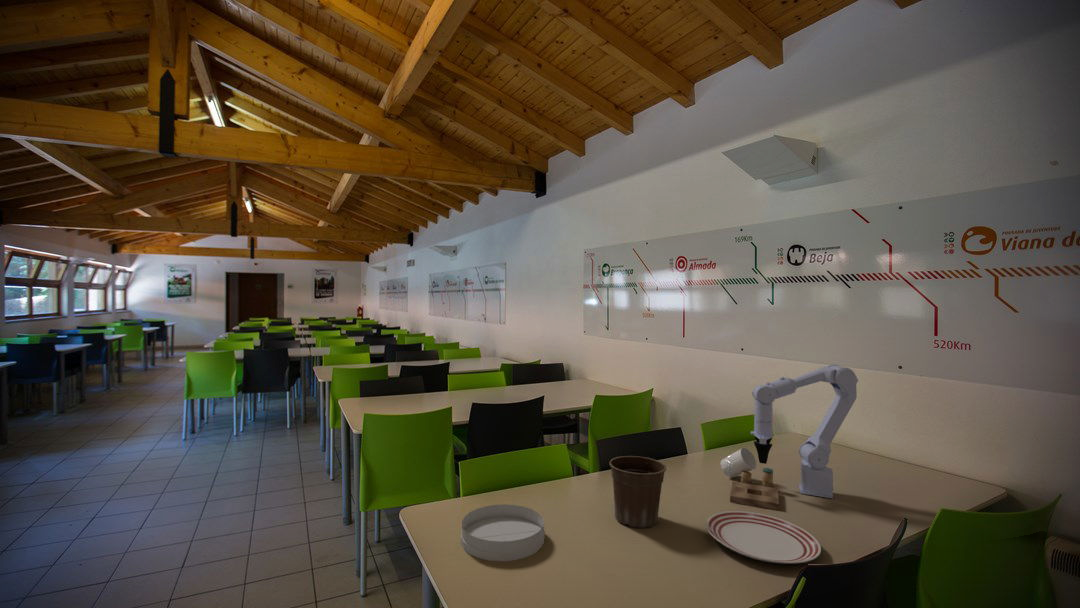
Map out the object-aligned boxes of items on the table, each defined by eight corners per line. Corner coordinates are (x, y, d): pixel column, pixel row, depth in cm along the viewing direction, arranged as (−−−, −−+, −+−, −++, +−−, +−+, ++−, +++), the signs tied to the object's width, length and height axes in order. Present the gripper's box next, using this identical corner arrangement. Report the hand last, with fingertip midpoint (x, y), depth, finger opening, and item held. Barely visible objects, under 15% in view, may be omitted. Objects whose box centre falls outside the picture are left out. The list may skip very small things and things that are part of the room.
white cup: (735, 483, 177) (757, 473, 171) (719, 472, 175) (741, 461, 169) (734, 465, 183) (755, 454, 177) (718, 454, 182) (740, 443, 175)
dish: (466, 568, 114) (466, 546, 114) (455, 526, 136) (456, 508, 136) (555, 555, 121) (556, 535, 121) (532, 517, 142) (532, 500, 142)
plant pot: (644, 504, 152) (645, 453, 152) (677, 527, 137) (678, 469, 137) (598, 511, 146) (599, 458, 146) (627, 536, 131) (628, 476, 131)
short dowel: (750, 483, 172) (751, 472, 171) (750, 486, 169) (751, 475, 169) (740, 481, 173) (742, 470, 173) (740, 484, 170) (741, 473, 170)
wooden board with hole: (777, 494, 162) (777, 488, 162) (778, 510, 149) (778, 503, 149) (732, 487, 168) (732, 481, 168) (730, 501, 155) (730, 495, 155)
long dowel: (772, 489, 167) (772, 468, 167) (772, 492, 164) (773, 471, 164) (762, 487, 168) (762, 467, 168) (762, 490, 165) (762, 470, 165)
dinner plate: (821, 537, 133) (821, 525, 133) (820, 586, 109) (820, 572, 109) (716, 514, 147) (716, 502, 147) (695, 553, 123) (695, 540, 123)
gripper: (751, 415, 176) (750, 452, 176) (750, 423, 162) (749, 464, 162) (772, 417, 173) (772, 455, 173) (773, 426, 159) (773, 467, 159)
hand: (762, 459), depth 167 cm, fingers open, 7 cm apart
